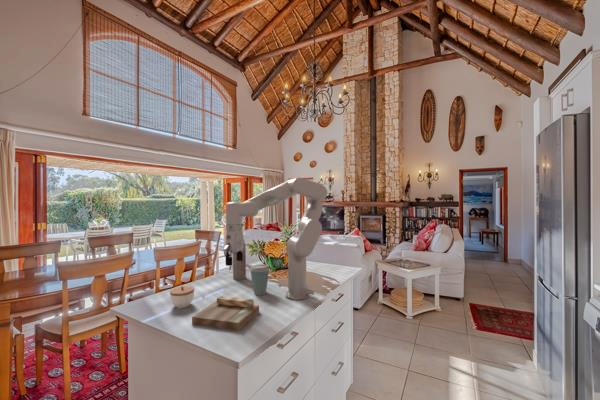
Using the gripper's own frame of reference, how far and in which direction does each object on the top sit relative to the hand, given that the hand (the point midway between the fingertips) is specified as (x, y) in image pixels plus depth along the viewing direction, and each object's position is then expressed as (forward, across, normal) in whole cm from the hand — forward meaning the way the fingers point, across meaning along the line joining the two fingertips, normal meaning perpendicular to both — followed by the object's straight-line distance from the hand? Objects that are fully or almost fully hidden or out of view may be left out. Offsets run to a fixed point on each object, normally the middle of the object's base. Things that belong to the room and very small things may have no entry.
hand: (234, 263), depth 132 cm
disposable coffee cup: (+21, +19, -4) cm, 28 cm away
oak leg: (+17, -7, -4) cm, 19 cm away
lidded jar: (+21, -7, +24) cm, 33 cm away
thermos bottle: (+21, +40, +20) cm, 49 cm away
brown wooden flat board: (+20, -13, -4) cm, 25 cm away
